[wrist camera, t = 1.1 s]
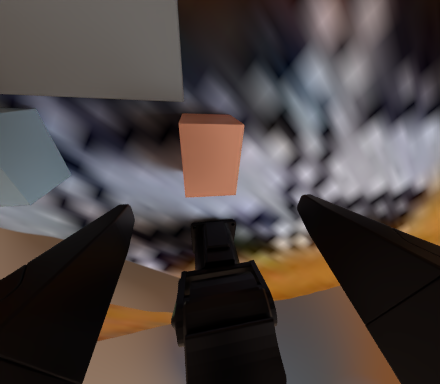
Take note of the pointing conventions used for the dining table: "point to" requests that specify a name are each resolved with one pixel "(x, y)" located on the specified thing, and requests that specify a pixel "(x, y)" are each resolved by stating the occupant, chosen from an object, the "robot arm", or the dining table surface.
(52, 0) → the base plate
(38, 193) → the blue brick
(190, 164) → the terracotta brick
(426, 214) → the dining table surface
